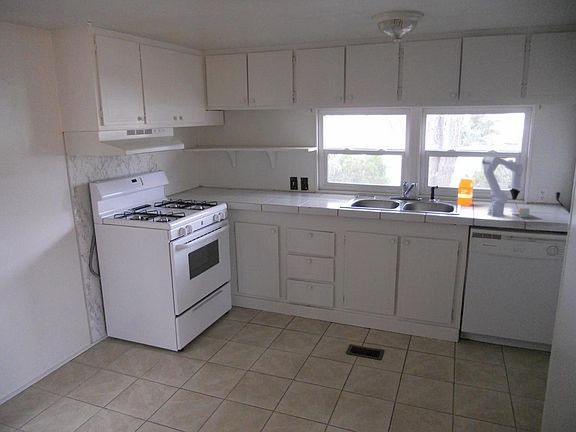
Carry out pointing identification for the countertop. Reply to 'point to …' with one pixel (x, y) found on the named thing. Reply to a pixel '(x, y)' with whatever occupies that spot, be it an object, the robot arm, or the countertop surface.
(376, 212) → the countertop surface
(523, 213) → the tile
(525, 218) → the mat
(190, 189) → the countertop surface
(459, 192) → the orange juice
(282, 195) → the countertop surface
